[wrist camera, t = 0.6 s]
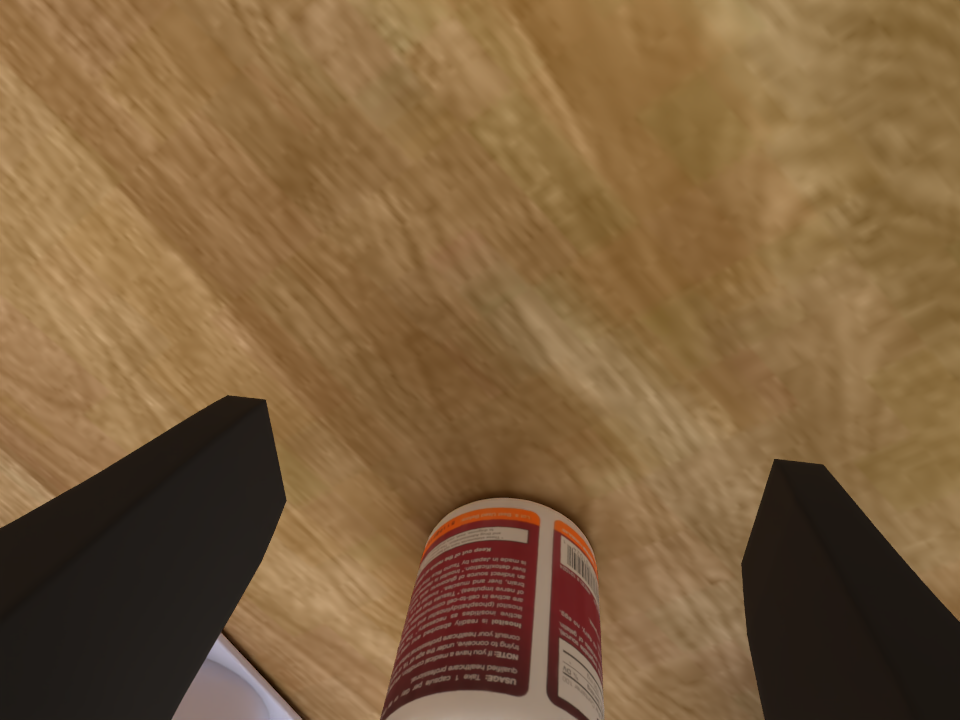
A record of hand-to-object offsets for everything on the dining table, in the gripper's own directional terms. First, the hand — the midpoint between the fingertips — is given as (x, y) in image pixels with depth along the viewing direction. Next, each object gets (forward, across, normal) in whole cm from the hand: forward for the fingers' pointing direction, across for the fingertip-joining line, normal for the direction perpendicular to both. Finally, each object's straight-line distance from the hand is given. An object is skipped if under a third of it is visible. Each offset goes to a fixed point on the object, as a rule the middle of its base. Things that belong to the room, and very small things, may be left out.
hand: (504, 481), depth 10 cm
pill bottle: (+10, +1, +12) cm, 16 cm away
